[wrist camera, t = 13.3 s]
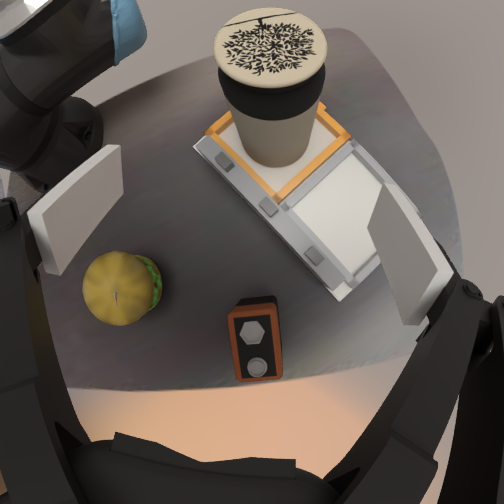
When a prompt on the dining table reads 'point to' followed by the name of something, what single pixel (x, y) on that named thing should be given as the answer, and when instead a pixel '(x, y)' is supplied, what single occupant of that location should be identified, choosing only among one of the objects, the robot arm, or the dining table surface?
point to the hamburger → (121, 287)
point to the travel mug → (272, 81)
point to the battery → (256, 339)
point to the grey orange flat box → (310, 197)
